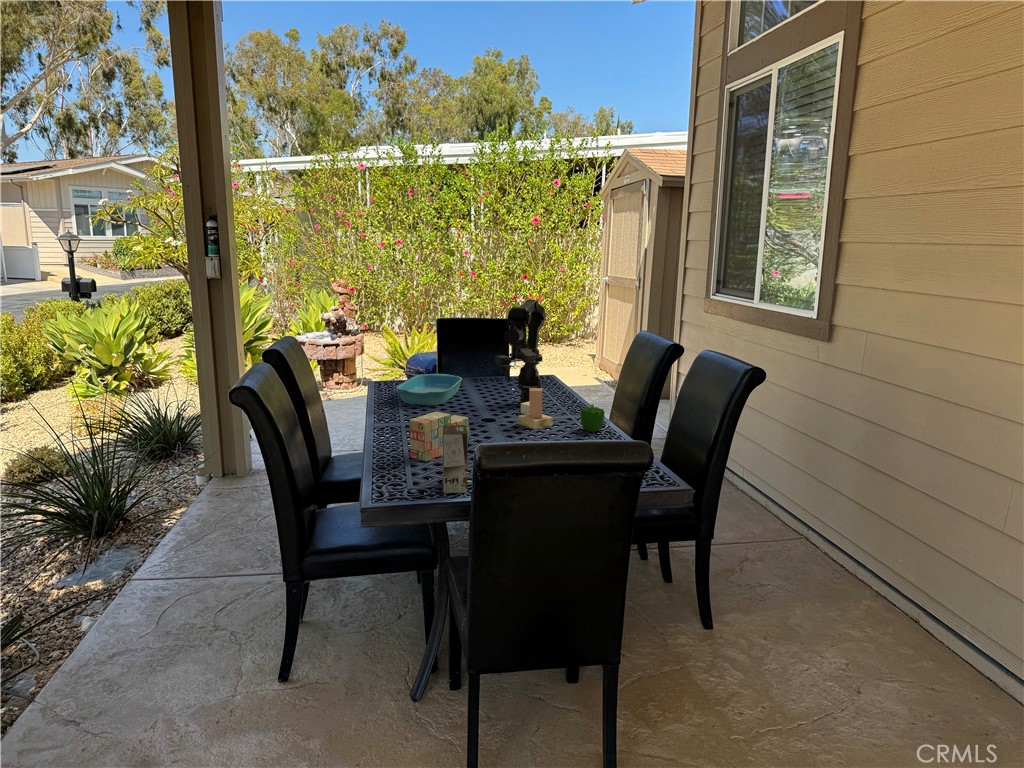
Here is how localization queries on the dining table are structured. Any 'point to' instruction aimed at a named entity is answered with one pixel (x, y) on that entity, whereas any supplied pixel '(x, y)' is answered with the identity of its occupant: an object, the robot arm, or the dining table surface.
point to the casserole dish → (429, 389)
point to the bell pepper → (592, 418)
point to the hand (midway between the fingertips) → (518, 381)
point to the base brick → (535, 421)
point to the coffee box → (455, 458)
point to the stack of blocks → (431, 434)
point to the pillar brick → (535, 402)
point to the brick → (525, 408)
